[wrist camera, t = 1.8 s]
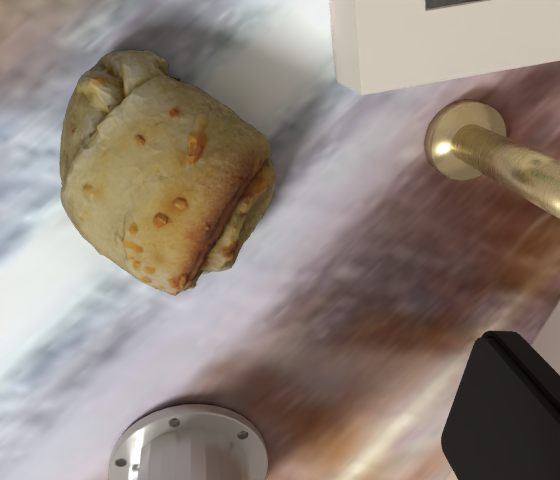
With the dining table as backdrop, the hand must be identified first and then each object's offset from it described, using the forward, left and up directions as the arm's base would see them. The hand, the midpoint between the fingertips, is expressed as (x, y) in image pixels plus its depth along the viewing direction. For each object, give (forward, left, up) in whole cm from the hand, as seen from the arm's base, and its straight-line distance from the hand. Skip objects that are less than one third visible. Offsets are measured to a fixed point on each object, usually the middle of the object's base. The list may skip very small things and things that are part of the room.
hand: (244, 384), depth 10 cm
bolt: (-4, -16, -24) cm, 29 cm away
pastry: (-2, +3, -24) cm, 24 cm away
